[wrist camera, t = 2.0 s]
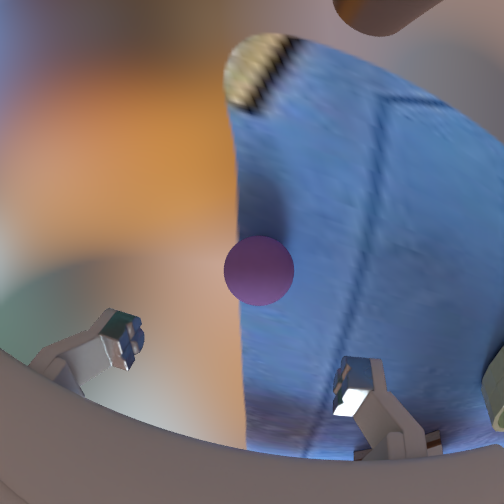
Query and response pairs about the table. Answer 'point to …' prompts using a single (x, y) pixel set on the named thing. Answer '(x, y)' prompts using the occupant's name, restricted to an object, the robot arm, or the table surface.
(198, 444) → the robot arm
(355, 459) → the brown-rimmed upright block
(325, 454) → the table surface
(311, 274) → the table surface
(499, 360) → the bowl
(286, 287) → the ball
